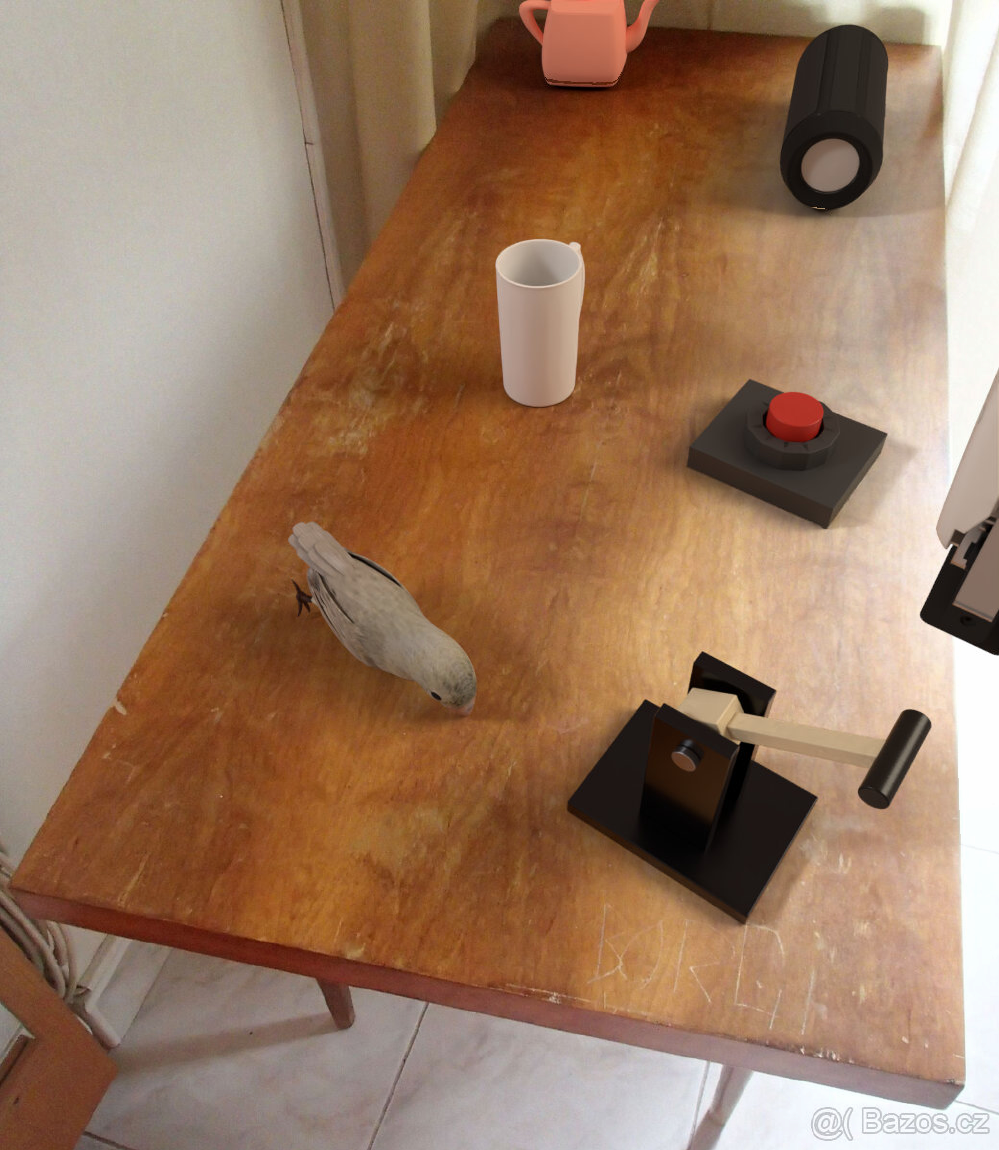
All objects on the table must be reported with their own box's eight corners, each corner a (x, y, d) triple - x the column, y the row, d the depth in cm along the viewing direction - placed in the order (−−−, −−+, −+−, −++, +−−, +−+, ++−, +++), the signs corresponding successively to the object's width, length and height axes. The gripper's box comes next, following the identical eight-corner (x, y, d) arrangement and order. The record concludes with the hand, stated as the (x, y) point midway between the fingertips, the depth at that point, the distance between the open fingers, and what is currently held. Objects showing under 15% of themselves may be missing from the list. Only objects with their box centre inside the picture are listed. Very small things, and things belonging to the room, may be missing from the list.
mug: (549, 420, 83) (550, 297, 74) (485, 392, 86) (478, 270, 76) (612, 357, 88) (620, 235, 79) (549, 332, 91) (550, 212, 82)
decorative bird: (443, 746, 63) (433, 681, 57) (285, 615, 71) (262, 545, 65) (500, 694, 66) (496, 625, 60) (341, 572, 73) (324, 501, 67)
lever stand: (814, 806, 60) (863, 699, 51) (744, 925, 55) (783, 832, 46) (643, 708, 64) (659, 594, 55) (566, 811, 60) (569, 705, 51)
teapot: (526, 52, 130) (525, -36, 122) (664, 56, 128) (672, -34, 120) (513, 91, 123) (511, 0, 115) (659, 96, 120) (668, 4, 112)
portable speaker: (868, 224, 100) (894, 127, 93) (769, 214, 102) (786, 118, 95) (876, 110, 116) (899, 19, 108) (790, 102, 118) (807, 12, 110)
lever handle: (937, 740, 46) (925, 703, 45) (895, 820, 44) (881, 783, 42) (719, 700, 55) (705, 669, 54) (674, 765, 52) (658, 734, 51)
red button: (827, 421, 76) (832, 403, 75) (804, 450, 74) (809, 433, 73) (780, 402, 78) (784, 384, 77) (756, 430, 76) (760, 413, 75)
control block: (880, 454, 79) (894, 415, 76) (826, 529, 74) (839, 491, 71) (745, 399, 84) (752, 360, 81) (686, 466, 79) (691, 428, 76)
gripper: (1356, 377, 18) (998, 829, 32) (1451, 69, 25) (1127, 545, 39) (947, 250, 21) (785, 713, 35) (1140, 9, 28) (942, 470, 42)
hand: (967, 623), depth 37 cm, fingers closed
